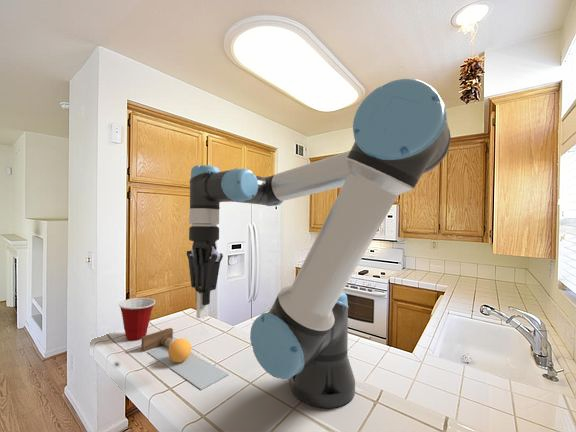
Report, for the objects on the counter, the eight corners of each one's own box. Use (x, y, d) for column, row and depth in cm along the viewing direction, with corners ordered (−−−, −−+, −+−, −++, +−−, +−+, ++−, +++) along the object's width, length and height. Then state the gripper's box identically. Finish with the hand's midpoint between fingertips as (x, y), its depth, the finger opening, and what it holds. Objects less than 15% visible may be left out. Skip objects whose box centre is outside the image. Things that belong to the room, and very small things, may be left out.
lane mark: (228, 374, 67) (228, 374, 67) (201, 390, 60) (201, 389, 60) (173, 343, 84) (173, 342, 84) (147, 352, 78) (147, 351, 78)
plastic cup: (138, 346, 82) (139, 307, 82) (109, 342, 84) (110, 305, 84) (161, 332, 92) (162, 298, 93) (135, 329, 94) (136, 296, 95)
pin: (182, 352, 79) (165, 345, 83) (185, 344, 80) (169, 336, 84) (175, 351, 77) (159, 344, 82) (179, 342, 78) (163, 335, 83)
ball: (181, 342, 78) (191, 359, 75) (161, 352, 73) (171, 371, 71) (187, 330, 76) (198, 348, 73) (167, 339, 71) (178, 358, 68)
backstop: (172, 341, 85) (172, 329, 85) (143, 351, 78) (143, 338, 78) (170, 340, 86) (170, 327, 86) (141, 350, 79) (141, 336, 79)
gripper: (231, 225, 67) (230, 318, 67) (202, 225, 75) (201, 307, 75) (206, 225, 62) (204, 327, 61) (178, 225, 70) (175, 314, 69)
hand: (202, 316), depth 68 cm, fingers closed
